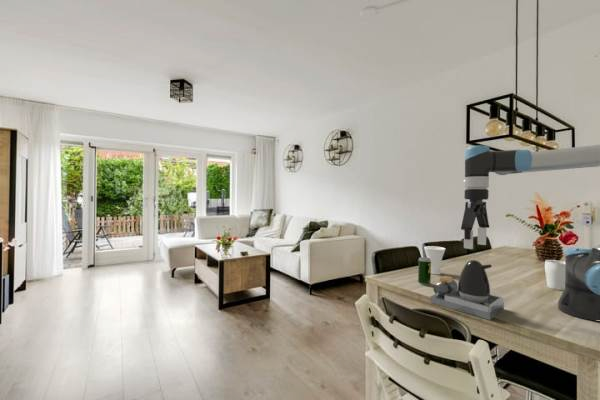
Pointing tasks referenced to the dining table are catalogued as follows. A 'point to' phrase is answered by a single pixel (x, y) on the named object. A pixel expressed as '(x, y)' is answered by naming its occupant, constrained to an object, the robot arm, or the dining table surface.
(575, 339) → the dining table surface
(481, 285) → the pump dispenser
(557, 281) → the cup
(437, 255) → the cup
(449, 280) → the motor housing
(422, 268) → the green soda can
